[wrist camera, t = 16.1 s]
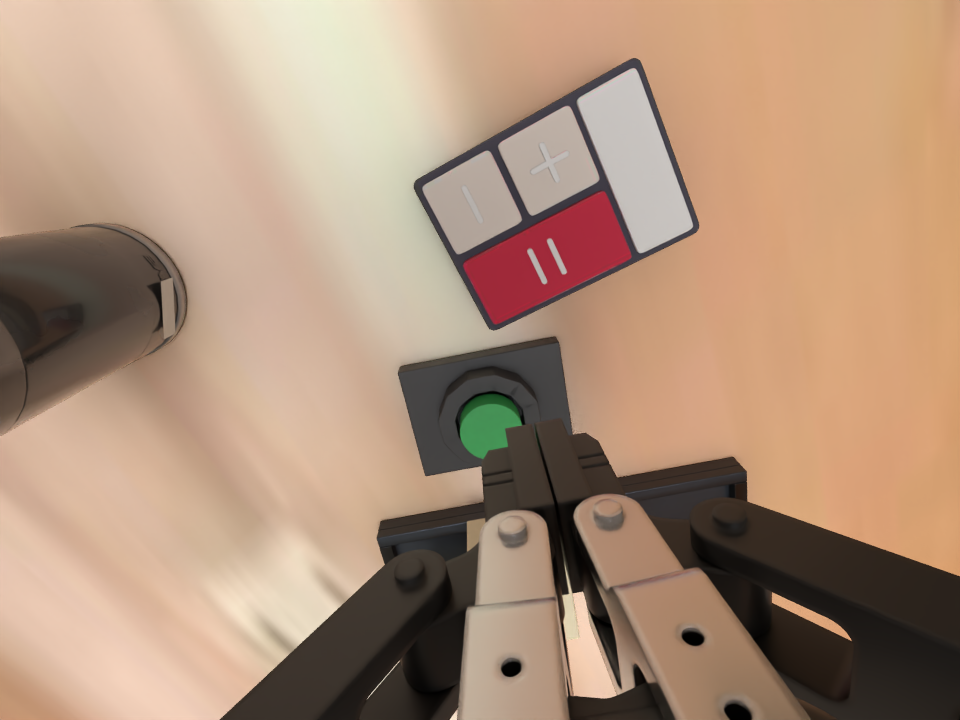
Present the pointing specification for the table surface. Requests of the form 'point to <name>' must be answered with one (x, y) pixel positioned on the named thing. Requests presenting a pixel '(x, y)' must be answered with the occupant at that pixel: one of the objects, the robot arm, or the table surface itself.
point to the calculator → (561, 197)
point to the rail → (653, 491)
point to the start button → (487, 423)
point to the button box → (457, 380)
